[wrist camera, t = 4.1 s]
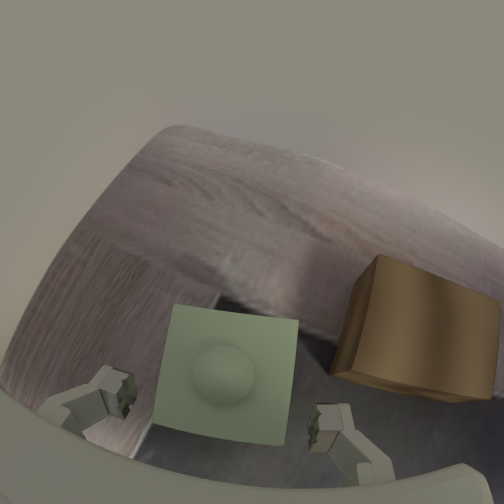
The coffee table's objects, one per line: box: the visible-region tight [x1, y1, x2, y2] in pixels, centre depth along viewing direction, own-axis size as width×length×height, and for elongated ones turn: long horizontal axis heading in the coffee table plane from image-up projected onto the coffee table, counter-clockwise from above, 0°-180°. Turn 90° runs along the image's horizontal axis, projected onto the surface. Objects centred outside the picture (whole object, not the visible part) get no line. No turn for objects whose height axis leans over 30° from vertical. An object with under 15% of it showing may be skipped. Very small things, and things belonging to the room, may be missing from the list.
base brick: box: [328, 254, 500, 403], centre depth 15 cm, size 11×7×5 cm, turn 69°
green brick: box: [151, 303, 299, 446], centre depth 13 cm, size 5×5×8 cm
